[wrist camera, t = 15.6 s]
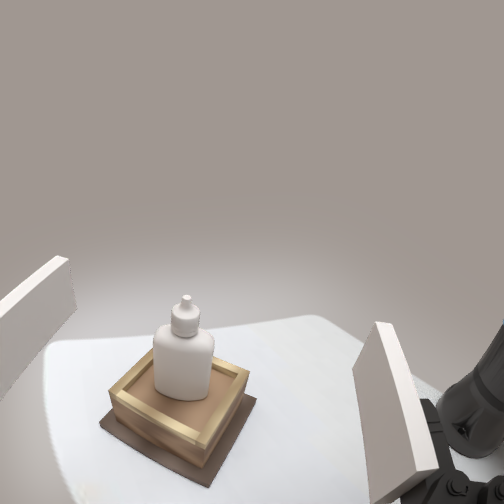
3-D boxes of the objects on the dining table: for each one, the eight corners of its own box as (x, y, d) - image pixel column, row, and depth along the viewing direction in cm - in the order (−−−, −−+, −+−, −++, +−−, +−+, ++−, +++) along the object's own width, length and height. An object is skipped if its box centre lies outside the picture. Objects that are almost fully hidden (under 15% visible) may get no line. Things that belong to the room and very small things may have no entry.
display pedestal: (255, 402, 36) (266, 367, 33) (208, 488, 24) (213, 464, 21) (163, 361, 40) (162, 323, 37) (100, 426, 28) (88, 391, 25)
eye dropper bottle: (173, 365, 32) (177, 274, 27) (214, 389, 30) (230, 300, 25) (148, 386, 29) (143, 293, 24) (191, 415, 27) (198, 325, 22)
